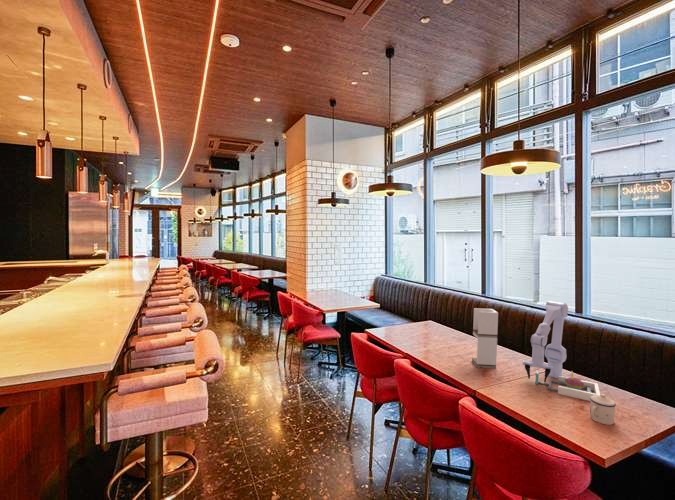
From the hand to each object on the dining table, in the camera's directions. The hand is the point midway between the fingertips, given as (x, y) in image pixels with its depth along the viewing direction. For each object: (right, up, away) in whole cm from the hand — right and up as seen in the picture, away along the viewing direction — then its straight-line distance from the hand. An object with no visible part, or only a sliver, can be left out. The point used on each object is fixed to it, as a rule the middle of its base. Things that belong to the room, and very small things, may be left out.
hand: (536, 380), depth 190 cm
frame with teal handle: (+10, -2, -6) cm, 12 cm away
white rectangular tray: (+15, -3, -10) cm, 18 cm away
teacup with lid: (+6, -4, -38) cm, 38 cm away
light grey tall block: (-18, -1, +27) cm, 32 cm away
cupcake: (+14, -3, -9) cm, 17 cm away
